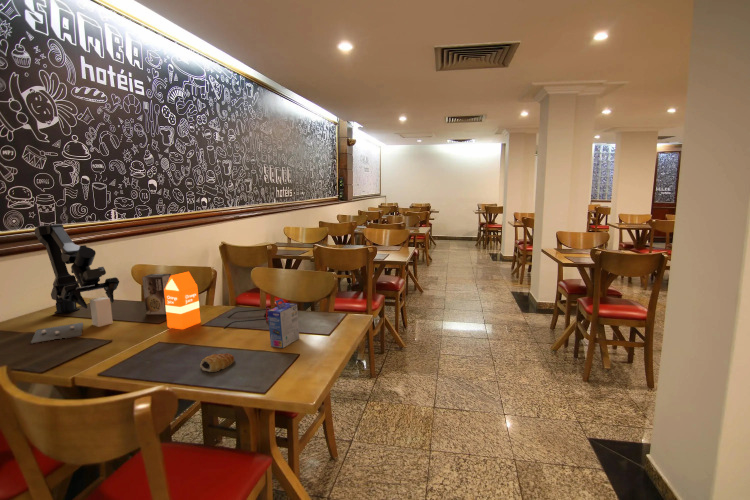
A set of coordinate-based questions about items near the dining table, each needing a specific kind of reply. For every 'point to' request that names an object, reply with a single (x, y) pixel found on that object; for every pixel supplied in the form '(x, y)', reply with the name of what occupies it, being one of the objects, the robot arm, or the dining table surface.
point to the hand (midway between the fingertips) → (100, 304)
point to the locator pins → (57, 331)
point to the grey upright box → (155, 292)
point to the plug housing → (101, 311)
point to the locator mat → (63, 332)
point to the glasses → (250, 320)
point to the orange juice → (182, 301)
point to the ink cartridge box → (283, 324)
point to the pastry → (216, 362)
